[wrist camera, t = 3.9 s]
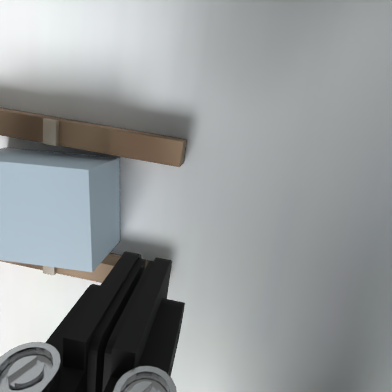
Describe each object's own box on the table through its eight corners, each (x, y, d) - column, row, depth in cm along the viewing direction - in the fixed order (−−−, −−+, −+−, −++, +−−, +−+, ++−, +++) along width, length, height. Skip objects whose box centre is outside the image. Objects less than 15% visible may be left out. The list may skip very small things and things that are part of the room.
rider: (120, 157, 19) (88, 169, 15) (121, 239, 21) (92, 272, 17) (9, 147, 20) (-52, 156, 16) (18, 227, 22) (-35, 255, 17)
